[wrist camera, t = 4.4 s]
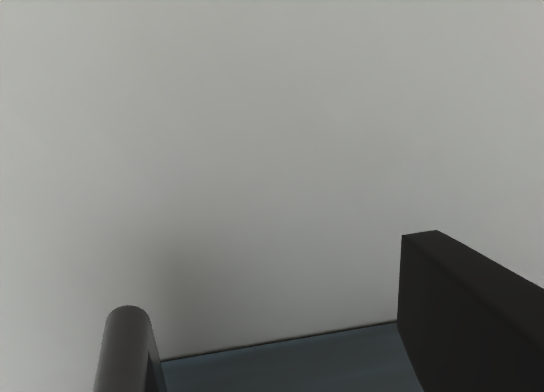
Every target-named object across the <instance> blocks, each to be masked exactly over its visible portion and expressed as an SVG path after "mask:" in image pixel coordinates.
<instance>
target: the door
mask: <svg viewBox="0 0 544 392" xmlns="http://www.w3.org/2000/svg"><path fill="white" fill-rule="evenodd" d="M93 392H424V390H423V388H422V386H421V385H420V383H419V381H418V379H417V376H416V374H415V372H414V369H413V367H412V364H411V362H410V360H409V357H408V355H407V352H406V350H405V347H404V345H403V342H402V339H401V337H400V334H399V332H398V329H397V322H396V323H390V324H384V325H378V326H373V327H367V328H361V329H355V330H349V331H343V332H337V333H331V334H325V335H319V336H313V337H308V338H302V339H296V340H290V341H284V342H278V343H272V344H266V345H260V346H254V347H249V348H243V349H237V350H231V351H225V352H219V353H213V354H207V355H201V356H195V357H189V358H184V359H178V360H172V361H166V362H160V358H159V354H158V350H157V346H156V342H155V338H154V334H153V329H152V325H151V321H150V318H149V316H148V314H147V313H146V312H145V311H144V310H143V309H141V308H139V307H136V306H131V305H126V306H121V307H118V308H116V309H114V310H113V311H112V312H111V313H110V314H109V315H108V317H107V319H106V323H105V329H104V334H103V339H102V345H101V350H100V355H99V361H98V366H97V371H96V377H95V382H94V387H93Z"/></svg>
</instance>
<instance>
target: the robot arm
mask: <svg viewBox="0 0 544 392" xmlns="http://www.w3.org/2000/svg"><path fill="white" fill-rule="evenodd" d="M397 329H398V332H399V334H400V337H401V339H402V342H403V345H404V347H405V350H406V352H407V355H408V357H409V360H410V362H411V364H412V367H413V369H414V372H415V374H416V376H417V379H418V381H419V383H420V385H421V386H422V388H423V390H424V392H544V289H543V288H541V287H539V286H537V285H535V284H534V283H532V282H530V281H528V280H526V279H525V278H523V277H521V276H519V275H517V274H516V273H514V272H512V271H510V270H508V269H507V268H505V267H503V266H501V265H500V264H498V263H496V262H494V261H493V260H491V259H489V258H487V257H486V256H484V255H482V254H480V253H478V252H477V251H475V250H473V249H471V248H470V247H468V246H466V245H464V244H462V243H461V242H459V241H457V240H455V239H453V238H451V237H449V236H448V235H446V234H444V233H442V232H440V231H437V230H433V231H426V232H420V233H414V234H407V235H402V242H401V259H400V277H399V295H398V313H397Z"/></svg>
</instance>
